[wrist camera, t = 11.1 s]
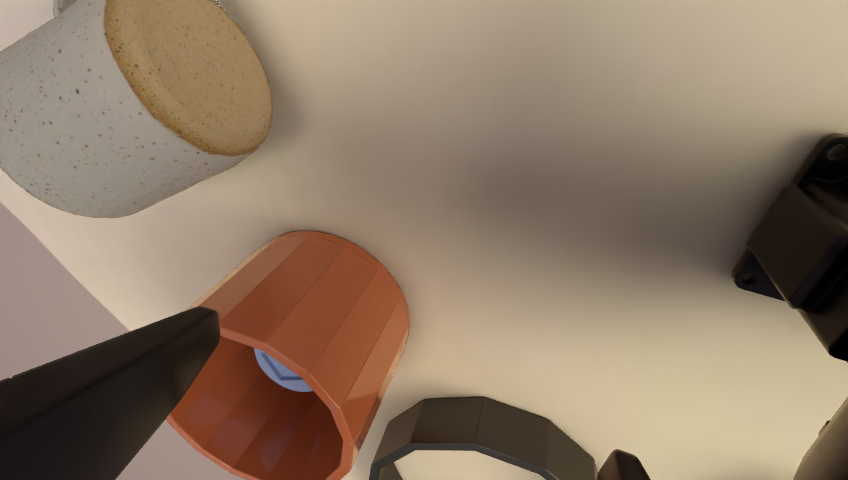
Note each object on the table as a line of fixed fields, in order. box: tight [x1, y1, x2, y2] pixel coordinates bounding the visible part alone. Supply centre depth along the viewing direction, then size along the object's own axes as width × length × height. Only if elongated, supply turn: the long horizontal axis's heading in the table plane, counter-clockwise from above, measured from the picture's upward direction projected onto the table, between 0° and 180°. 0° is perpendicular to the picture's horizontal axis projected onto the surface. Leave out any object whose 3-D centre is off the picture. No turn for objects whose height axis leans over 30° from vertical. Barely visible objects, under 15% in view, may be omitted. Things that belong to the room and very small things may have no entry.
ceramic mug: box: [0, 0, 272, 218], centre depth 17 cm, size 11×8×8 cm
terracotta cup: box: [166, 231, 410, 480], centre depth 23 cm, size 10×10×8 cm
